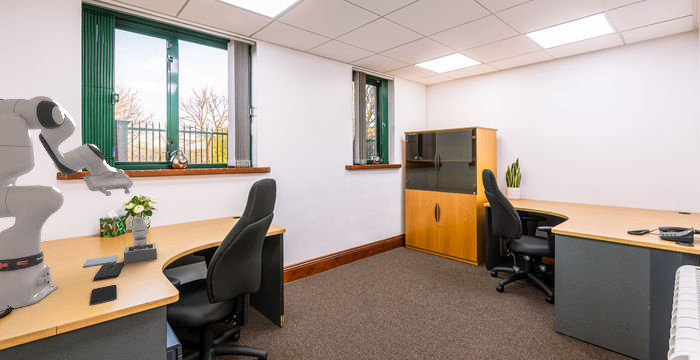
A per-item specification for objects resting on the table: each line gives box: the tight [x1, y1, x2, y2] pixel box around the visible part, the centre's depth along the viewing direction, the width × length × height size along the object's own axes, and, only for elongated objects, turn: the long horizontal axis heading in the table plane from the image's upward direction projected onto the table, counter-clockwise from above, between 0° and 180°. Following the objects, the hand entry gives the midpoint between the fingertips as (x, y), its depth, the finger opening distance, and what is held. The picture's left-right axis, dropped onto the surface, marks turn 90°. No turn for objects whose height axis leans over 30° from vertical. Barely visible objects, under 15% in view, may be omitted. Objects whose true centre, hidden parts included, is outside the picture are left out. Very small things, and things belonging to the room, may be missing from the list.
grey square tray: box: [123, 242, 158, 264], centre depth 154 cm, size 13×13×5 cm
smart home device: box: [92, 261, 125, 282], centre depth 134 cm, size 8×2×20 cm
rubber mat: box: [82, 255, 119, 268], centre depth 149 cm, size 12×12×1 cm
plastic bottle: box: [131, 216, 148, 251], centre depth 153 cm, size 6×7×20 cm
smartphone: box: [89, 284, 118, 306], centre depth 109 cm, size 7×1×15 cm
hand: (119, 194), depth 156 cm, fingers open, 8 cm apart
